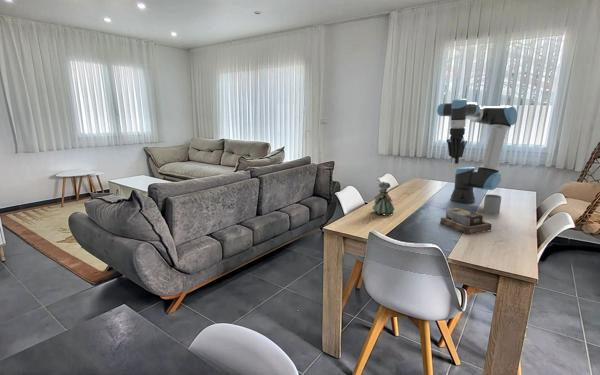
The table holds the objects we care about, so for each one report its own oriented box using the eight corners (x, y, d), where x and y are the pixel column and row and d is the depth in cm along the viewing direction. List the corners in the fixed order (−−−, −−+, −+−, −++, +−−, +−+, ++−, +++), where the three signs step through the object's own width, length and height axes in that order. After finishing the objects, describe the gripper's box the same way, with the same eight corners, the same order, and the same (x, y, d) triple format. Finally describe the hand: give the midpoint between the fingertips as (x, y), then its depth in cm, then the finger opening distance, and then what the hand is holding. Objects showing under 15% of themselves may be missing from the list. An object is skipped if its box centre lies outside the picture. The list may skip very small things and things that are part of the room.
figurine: (365, 213, 195) (366, 181, 190) (377, 208, 205) (378, 178, 200) (387, 218, 185) (388, 185, 181) (398, 212, 195) (400, 181, 191)
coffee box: (457, 207, 179) (483, 215, 165) (456, 218, 181) (482, 226, 166) (445, 209, 176) (471, 217, 161) (444, 220, 177) (470, 229, 163)
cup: (498, 210, 195) (500, 195, 193) (500, 214, 188) (502, 198, 185) (482, 209, 198) (484, 194, 196) (483, 213, 191) (485, 197, 189)
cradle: (440, 223, 175) (440, 217, 174) (463, 219, 180) (463, 214, 179) (466, 234, 158) (467, 228, 158) (490, 230, 163) (491, 224, 163)
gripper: (443, 127, 183) (441, 167, 188) (461, 128, 171) (457, 171, 176) (454, 126, 185) (451, 166, 191) (472, 127, 173) (468, 170, 179)
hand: (454, 168), depth 183 cm, fingers closed
